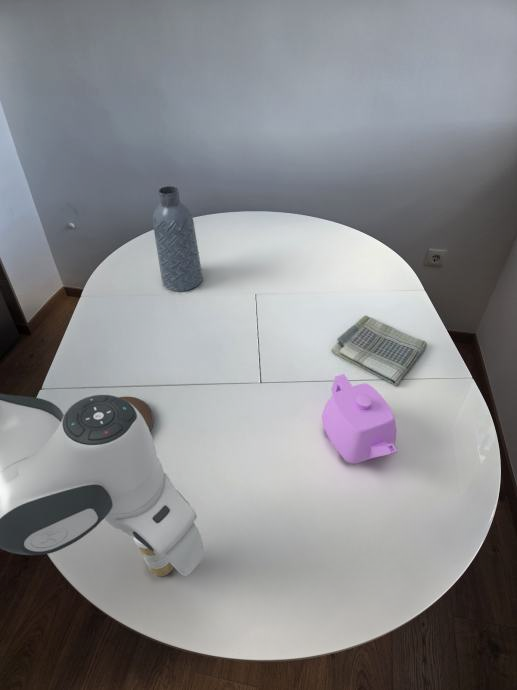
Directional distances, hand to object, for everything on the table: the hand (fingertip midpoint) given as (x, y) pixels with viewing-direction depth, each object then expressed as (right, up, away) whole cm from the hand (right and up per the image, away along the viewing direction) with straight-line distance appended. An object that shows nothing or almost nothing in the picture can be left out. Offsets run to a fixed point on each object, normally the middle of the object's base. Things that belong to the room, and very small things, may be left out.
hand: (153, 535), depth 65 cm
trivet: (-14, +11, +27) cm, 32 cm away
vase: (-7, +48, +66) cm, 82 cm away
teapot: (+36, +9, +24) cm, 44 cm away
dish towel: (+46, +27, +43) cm, 69 cm away
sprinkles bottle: (0, -8, +7) cm, 10 cm away
